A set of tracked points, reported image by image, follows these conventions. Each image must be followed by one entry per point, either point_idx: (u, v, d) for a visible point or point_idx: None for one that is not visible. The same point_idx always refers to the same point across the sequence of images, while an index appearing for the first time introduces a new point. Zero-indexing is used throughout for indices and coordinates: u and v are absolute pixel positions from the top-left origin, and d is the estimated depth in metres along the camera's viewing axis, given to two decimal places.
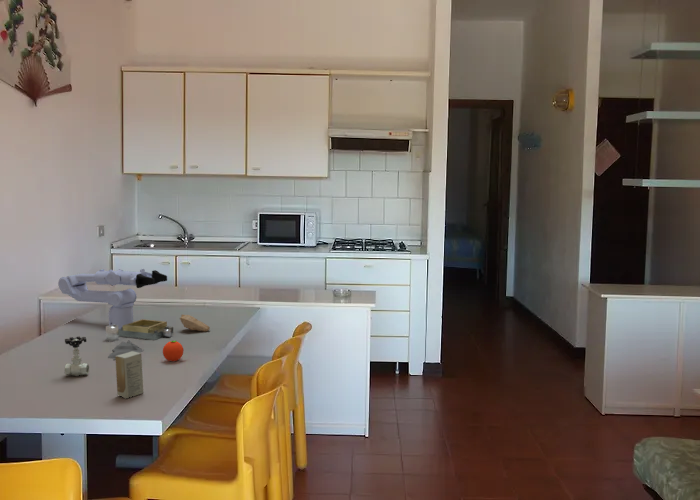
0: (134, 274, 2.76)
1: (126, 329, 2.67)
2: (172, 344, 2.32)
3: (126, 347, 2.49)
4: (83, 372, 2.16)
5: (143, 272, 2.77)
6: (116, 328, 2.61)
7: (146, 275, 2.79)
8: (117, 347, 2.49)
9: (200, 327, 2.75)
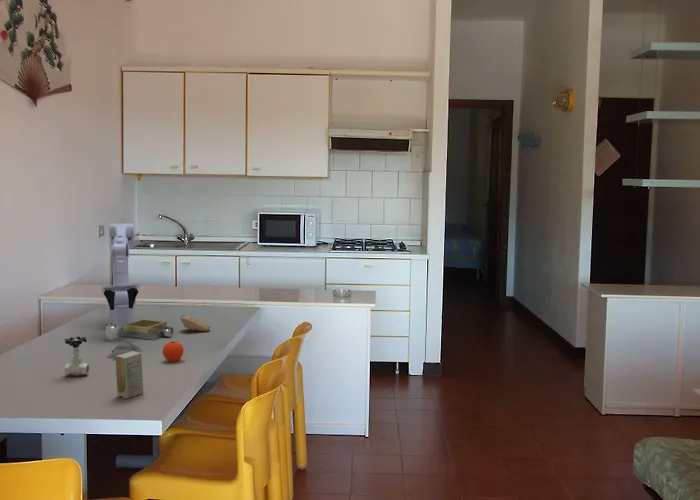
0: (113, 279, 2.62)
1: (126, 329, 2.67)
2: (172, 344, 2.32)
3: (125, 347, 2.49)
4: (83, 372, 2.16)
5: (118, 286, 2.60)
6: (116, 328, 2.61)
7: (123, 286, 2.62)
8: (117, 347, 2.49)
9: (200, 327, 2.75)
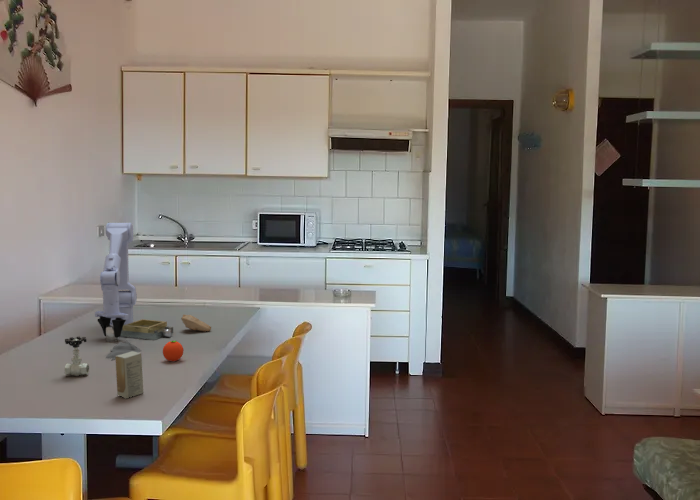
0: (103, 308, 2.60)
1: (126, 329, 2.67)
2: (172, 344, 2.32)
3: (124, 347, 2.49)
4: (83, 372, 2.16)
5: None
6: None
7: None
8: (115, 347, 2.49)
9: (201, 327, 2.75)
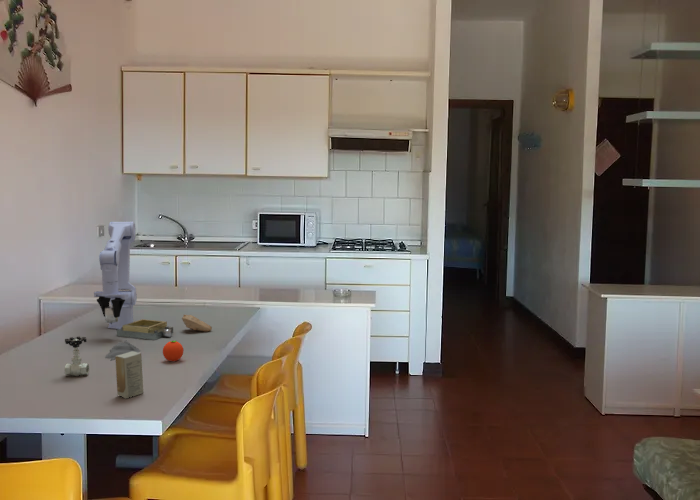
0: None
1: (126, 329, 2.67)
2: (172, 344, 2.32)
3: (123, 347, 2.49)
4: (83, 372, 2.16)
5: (106, 296, 2.58)
6: None
7: None
8: (115, 347, 2.49)
9: (202, 327, 2.75)
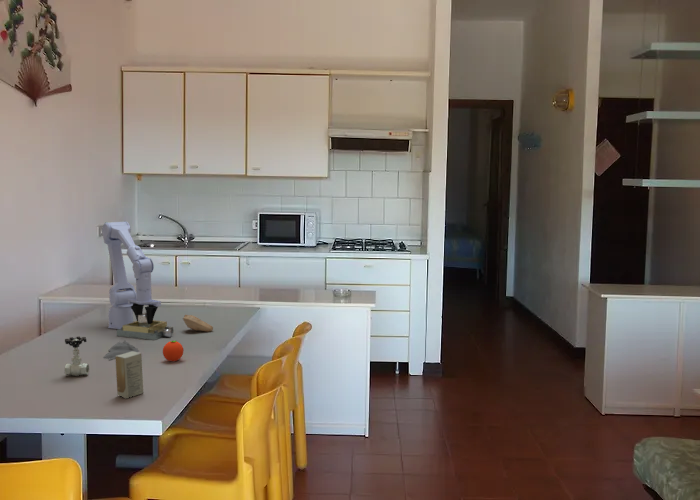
0: (136, 295, 2.69)
1: (126, 329, 2.67)
2: (172, 344, 2.32)
3: (122, 347, 2.49)
4: (83, 372, 2.16)
5: None
6: None
7: None
8: (113, 347, 2.49)
9: (203, 327, 2.75)
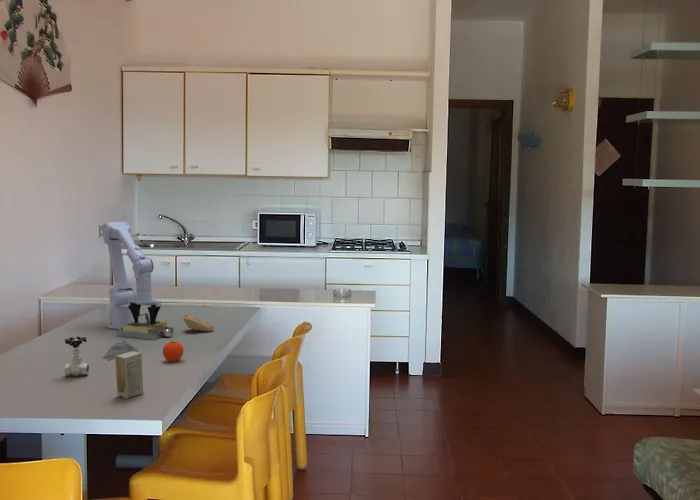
0: (136, 295, 2.69)
1: (126, 329, 2.67)
2: (172, 344, 2.32)
3: (121, 347, 2.49)
4: (83, 372, 2.16)
5: None
6: (148, 317, 2.69)
7: None
8: (113, 348, 2.49)
9: (204, 327, 2.75)
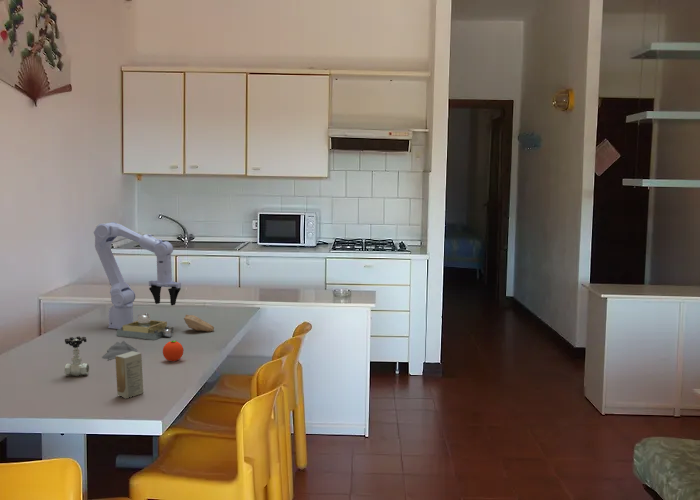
0: (157, 277, 2.77)
1: (126, 329, 2.67)
2: (172, 344, 2.32)
3: (120, 347, 2.49)
4: (83, 372, 2.16)
5: (160, 285, 2.76)
6: (148, 317, 2.69)
7: None
8: (112, 348, 2.49)
9: (204, 327, 2.75)
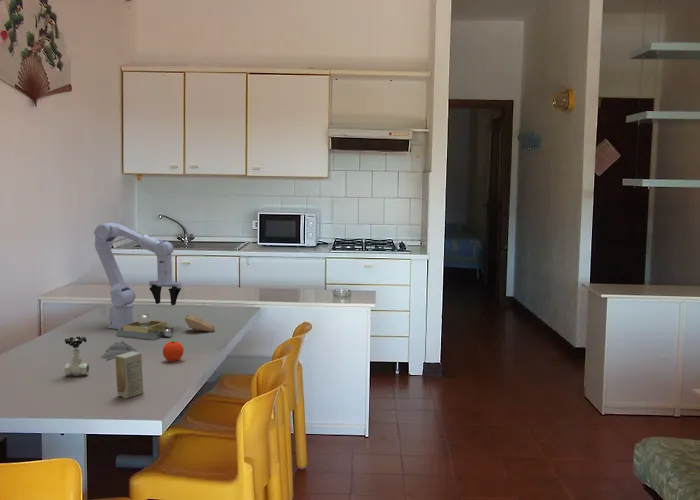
0: None
1: (126, 329, 2.67)
2: (172, 344, 2.32)
3: (119, 347, 2.49)
4: (83, 372, 2.16)
5: (161, 284, 2.76)
6: (148, 317, 2.69)
7: (167, 284, 2.77)
8: (111, 348, 2.49)
9: (205, 327, 2.75)
